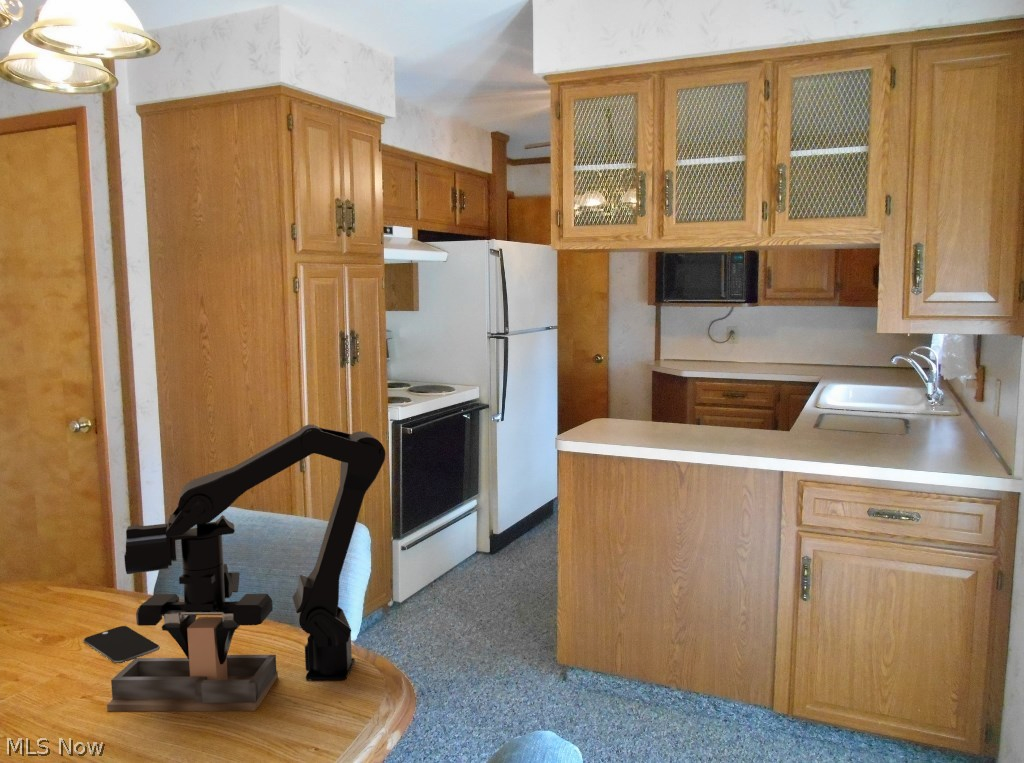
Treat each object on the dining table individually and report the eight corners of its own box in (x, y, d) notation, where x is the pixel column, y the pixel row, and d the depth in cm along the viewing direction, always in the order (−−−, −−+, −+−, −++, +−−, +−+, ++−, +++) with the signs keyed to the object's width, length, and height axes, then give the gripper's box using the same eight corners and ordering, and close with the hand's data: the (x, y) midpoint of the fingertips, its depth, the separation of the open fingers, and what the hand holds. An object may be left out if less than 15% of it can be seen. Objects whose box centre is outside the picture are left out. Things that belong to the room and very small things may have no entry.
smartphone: (124, 624, 142) (162, 646, 132) (125, 628, 142) (162, 650, 132) (80, 638, 136) (116, 662, 126) (80, 642, 136) (116, 667, 126)
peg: (227, 678, 118) (224, 617, 117) (217, 691, 114) (213, 628, 113) (202, 678, 118) (198, 617, 117) (191, 691, 114) (187, 628, 113)
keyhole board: (277, 677, 121) (276, 653, 121) (255, 710, 111) (253, 684, 111) (142, 677, 122) (140, 653, 121) (107, 711, 112) (105, 685, 111)
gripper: (281, 546, 122) (286, 639, 124) (167, 547, 122) (172, 639, 124) (257, 571, 111) (262, 673, 113) (131, 571, 111) (137, 673, 113)
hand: (208, 663), depth 116 cm, fingers closed on peg, 4 cm apart
